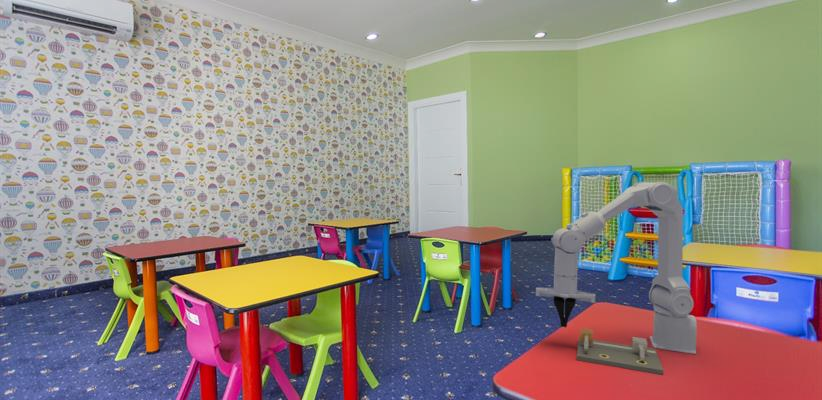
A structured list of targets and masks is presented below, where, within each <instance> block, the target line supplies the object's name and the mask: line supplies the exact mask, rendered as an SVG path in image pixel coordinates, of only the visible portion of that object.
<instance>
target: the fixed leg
mask: <svg viewBox="0 0 822 400" xmlns="http://www.w3.org/2000/svg"><path fill="white" fill-rule="evenodd" d="M631 345H632V349H633V351H636V352H640V360H639V361H640V362H644V358H645V353H647V348H648V341H647V338H643V337H637V336H636V337H635V336H632V337H631Z"/></svg>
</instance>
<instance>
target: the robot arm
mask: <svg viewBox="0 0 822 400" xmlns="http://www.w3.org/2000/svg"><path fill="white" fill-rule="evenodd" d="M634 207H643V208H646V209H648V210H649V211H650V212H652V213H653V214H654V215H655V216H657V218H658V222H657V223H658V224H657V225H658V226H657V241H658V242H657V275H655V277H654V278H652V281H651V282H652V283H651V287H650V288H649V289H650V290H649V292H648V299H649V301H650V302H651V304H653V306H652V307H653V332H652V335H651V336H650V335H649V340H650V343H651V346H652V349H659V350H664V351H665V350H666V351H672V352H678V353H686V354H693V355H696V354H697V332H698V331H697V330H698V328H697V327H698V326H697V319H696V317H695V316H694V315H692V314H690V313H691V312H692V311H693V308H694V305H695V304H694V299H693V297H692V295H691V287H690V286H689V285H688V283H687V281H686V280H685V279H684V278H683V259H684V258H683V257H684V256H683V250H684V249H683V248H684V247H683V245H684V244H683V243H684V242H683V241H684V239H683V238H684V235H683V234H684V230H683V229H684V228H683V227H684V211H683V207H682V205H681V202H680V201H679V199H678V190H677V189H676V188H675V187H674V186H672V185H671V184H669V183H668V182H665V181H657V182H655V181H654V182H645V181H639V182H636V183H634V184H633V185H632V186H629V187H627V188H626V189H625V190H624V191H623V192H622V193H620V194H619V195H618V196H617V197H615V198H614V199H612V200H611V201H610V202H608V203H607V204H606V205H605V206H602V208H600V209H599V210H597V211H596V212H595V211H592V210H591V211H587V212H586V211H584V212H582V213H581V214H580V215H581V216H580V217H579V218H577V219H576V220H573V222H572V223H571V222H570V223H567V224H566V228H564V227H563V228H559V229H557V230H556V231H554V234H553V236H552V237H550V238H551V239H550V240H551V243H552V245H553V247H554V262H553V263H554V266H553V287H536V288H535V296H536V297H542V296H543V297H547V298H553V303H554V306H555V309H556V311H557V314H558V318H559V320H560V327H561V328H567V327H568V320H569V317H570V316H571V313H572V311H573V309H574V308H575V305H576V301H581V302H589V303H592V304H595V303H596V293H593V292H592V293H591V292H586V291H580V290H578V268H579V267H578V266H579V265H578V262H579V251H580V250H582V248H583V245H584V243H585V242H587V241H589V240H590V239H591V238H594V237H595V236H596V235H598V234H599V233H601V232H602V231H603V230H605V227H606V223H607V222H609V221H610V220H612V219H615V217H617V216H618V215H619V216H620V214H622V213H624V212H626V211H627V210H629V209H630V208H634Z"/></svg>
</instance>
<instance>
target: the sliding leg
mask: <svg viewBox="0 0 822 400" xmlns="http://www.w3.org/2000/svg"><path fill="white" fill-rule="evenodd" d="M579 331H580V332H579V333H580V334H579V336H580V337H579V338H580V342H584V352H586V353H588V346H589V343H593V340H594V329H589V328H582V327H581V328H580V330H579Z"/></svg>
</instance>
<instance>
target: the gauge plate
mask: <svg viewBox="0 0 822 400" xmlns="http://www.w3.org/2000/svg"><path fill="white" fill-rule="evenodd" d="M577 339H578V340H577V341H578V342H577V349H576V350H577V352H576V360H577V361H581V362H586V363H594V364H599V365H603V366H604V365H605V366H610V367H611V366H612V367H615V368H621V369H627V370H633V371H639V372H644V373H645V372H646V373H651V374H655V375H656V374H657V375H664V368H663V366H662V362H661V360H660V358H659V355H658V353H657V350H656V348H653V347H652V348H651V347H647V353H645V358H644V362H640V361H639V360H640V352H636V351H633V349H632V344H631V345H630V344H623V343H617V342H611V341H605V340H598V339H593V343H589V346H588V353H586V352H584V342H580V337H578V338H577Z"/></svg>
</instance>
